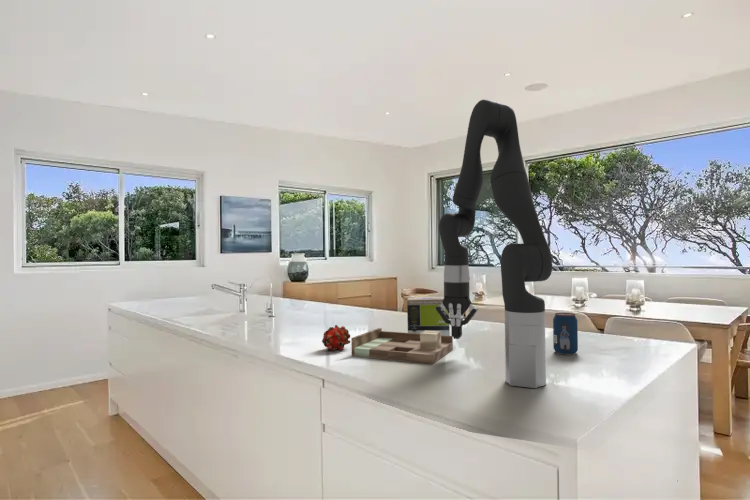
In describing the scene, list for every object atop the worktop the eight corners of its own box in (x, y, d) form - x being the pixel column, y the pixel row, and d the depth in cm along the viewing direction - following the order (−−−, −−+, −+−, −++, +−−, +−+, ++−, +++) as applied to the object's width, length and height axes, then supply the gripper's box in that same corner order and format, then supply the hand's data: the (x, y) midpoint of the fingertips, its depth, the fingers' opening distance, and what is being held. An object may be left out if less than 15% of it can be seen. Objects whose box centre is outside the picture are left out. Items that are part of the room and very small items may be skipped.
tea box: (448, 335, 174) (447, 296, 174) (449, 340, 164) (449, 299, 164) (408, 335, 175) (407, 296, 175) (407, 340, 165) (406, 299, 165)
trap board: (433, 363, 130) (433, 344, 130) (351, 356, 141) (351, 338, 141) (452, 349, 148) (452, 332, 148) (379, 343, 159) (378, 327, 159)
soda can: (570, 350, 146) (569, 312, 146) (582, 354, 139) (581, 315, 139) (549, 350, 145) (548, 312, 145) (560, 355, 138) (560, 315, 138)
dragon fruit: (349, 351, 156) (328, 363, 146) (331, 334, 159) (309, 346, 149) (360, 332, 152) (339, 344, 142) (341, 316, 155) (319, 326, 145)
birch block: (436, 349, 137) (436, 334, 137) (420, 348, 140) (420, 333, 140) (441, 346, 142) (441, 331, 142) (425, 345, 144) (425, 330, 144)
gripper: (431, 280, 137) (431, 339, 137) (475, 281, 131) (475, 342, 132) (439, 278, 144) (439, 334, 144) (481, 280, 138) (481, 337, 138)
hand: (456, 338), depth 138 cm, fingers closed
